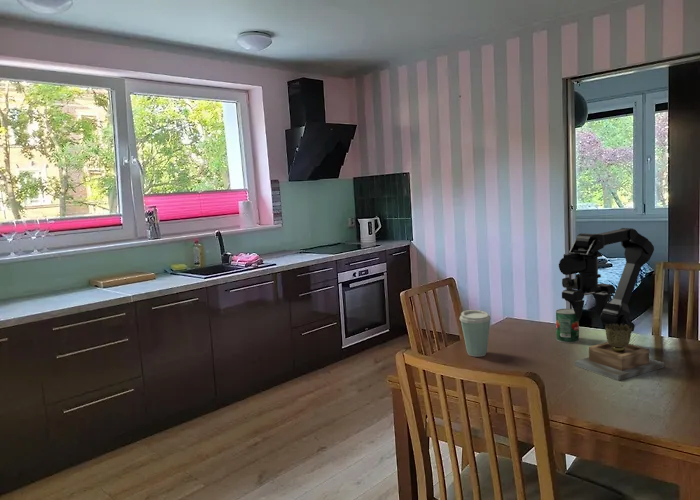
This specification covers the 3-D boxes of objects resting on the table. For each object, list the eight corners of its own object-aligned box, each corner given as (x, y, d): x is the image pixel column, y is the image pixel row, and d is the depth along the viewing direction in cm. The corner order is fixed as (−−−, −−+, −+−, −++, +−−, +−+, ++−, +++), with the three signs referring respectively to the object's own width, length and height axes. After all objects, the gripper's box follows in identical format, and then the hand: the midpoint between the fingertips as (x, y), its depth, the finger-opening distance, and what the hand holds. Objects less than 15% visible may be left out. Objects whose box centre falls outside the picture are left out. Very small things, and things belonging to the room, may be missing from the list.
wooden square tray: (618, 353, 179) (618, 336, 178) (663, 367, 165) (664, 348, 164) (574, 365, 171) (574, 347, 170) (618, 380, 156) (618, 360, 156)
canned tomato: (554, 337, 202) (553, 308, 201) (575, 336, 201) (575, 308, 200) (559, 343, 194) (558, 313, 193) (581, 342, 193) (581, 313, 192)
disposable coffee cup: (497, 352, 188) (496, 311, 187) (482, 361, 181) (480, 318, 179) (471, 347, 196) (469, 307, 194) (455, 355, 188) (453, 314, 186)
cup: (634, 354, 163) (634, 329, 162) (608, 354, 164) (608, 329, 163) (627, 347, 170) (627, 322, 169) (602, 347, 172) (602, 323, 171)
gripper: (588, 265, 188) (589, 308, 190) (548, 271, 181) (549, 316, 182) (616, 268, 178) (616, 314, 180) (574, 275, 170) (575, 323, 172)
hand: (588, 317), depth 179 cm, fingers open, 9 cm apart
